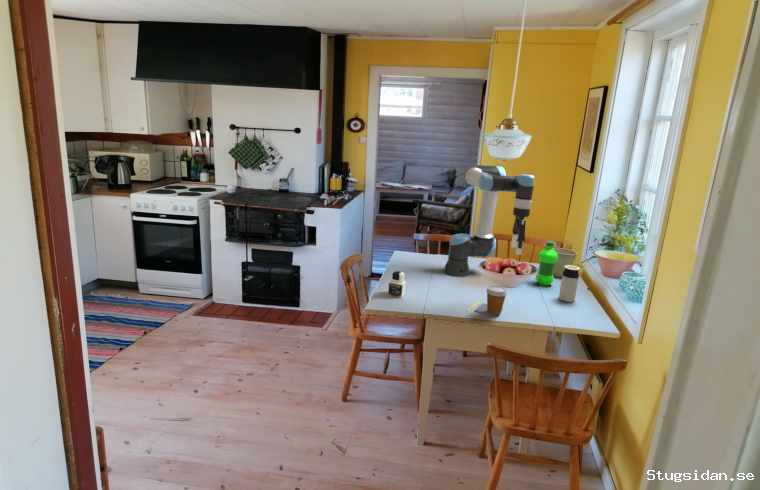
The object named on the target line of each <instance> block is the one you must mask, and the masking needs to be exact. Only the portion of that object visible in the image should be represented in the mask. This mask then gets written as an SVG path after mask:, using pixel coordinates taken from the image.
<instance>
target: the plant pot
mask: <svg viewBox="0 0 760 490" xmlns="http://www.w3.org/2000/svg"><path fill="white" fill-rule="evenodd" d="M553 250H554V251H555V252H556V253H557V254H558V260H557V261H556V262H555V264H554V271H553V276H554V277H555V278H560V277H562V275H563V271H564V270H565V267H564V266H566V265H572V266H574V263H575V260H576V257H577V254H578V253H577V252H576V251H575V250H573V249H569V248H562V247H553Z"/></svg>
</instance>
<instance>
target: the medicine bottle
mask: <svg viewBox="0 0 760 490" xmlns="http://www.w3.org/2000/svg"><path fill="white" fill-rule="evenodd" d="M406 290H407V280H405V273H404V272H402V271H393V272H392V274H391V280H390V281H389V282H388V292H387V294H388V295H387V296H390V297H394V298H398V299H399V298H400V299H401V298H403V297H404V295H406Z"/></svg>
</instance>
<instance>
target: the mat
mask: <svg viewBox="0 0 760 490" xmlns="http://www.w3.org/2000/svg"><path fill="white" fill-rule="evenodd" d="M503 309H504V308H503V307H502V310H503ZM474 313H479V314H482V315H487V316H490V317H496V316H497V315H492V314H489V313H488V312H487V303H485V302H483V303H482V304H480V305H479V306H477V308H475V309H474Z"/></svg>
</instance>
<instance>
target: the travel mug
mask: <svg viewBox="0 0 760 490" xmlns="http://www.w3.org/2000/svg"><path fill="white" fill-rule="evenodd" d="M564 267H565V270H564V271H563V275H562V278H561V283H560V288H559V294H558V300H560V301H563V302H566V303H573V302H575V300H576V296H577V289H578V284H579V283H578V282H579V277H580V273H579V270H581V269H580V267H579V266H575V265H566V266H564Z"/></svg>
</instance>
